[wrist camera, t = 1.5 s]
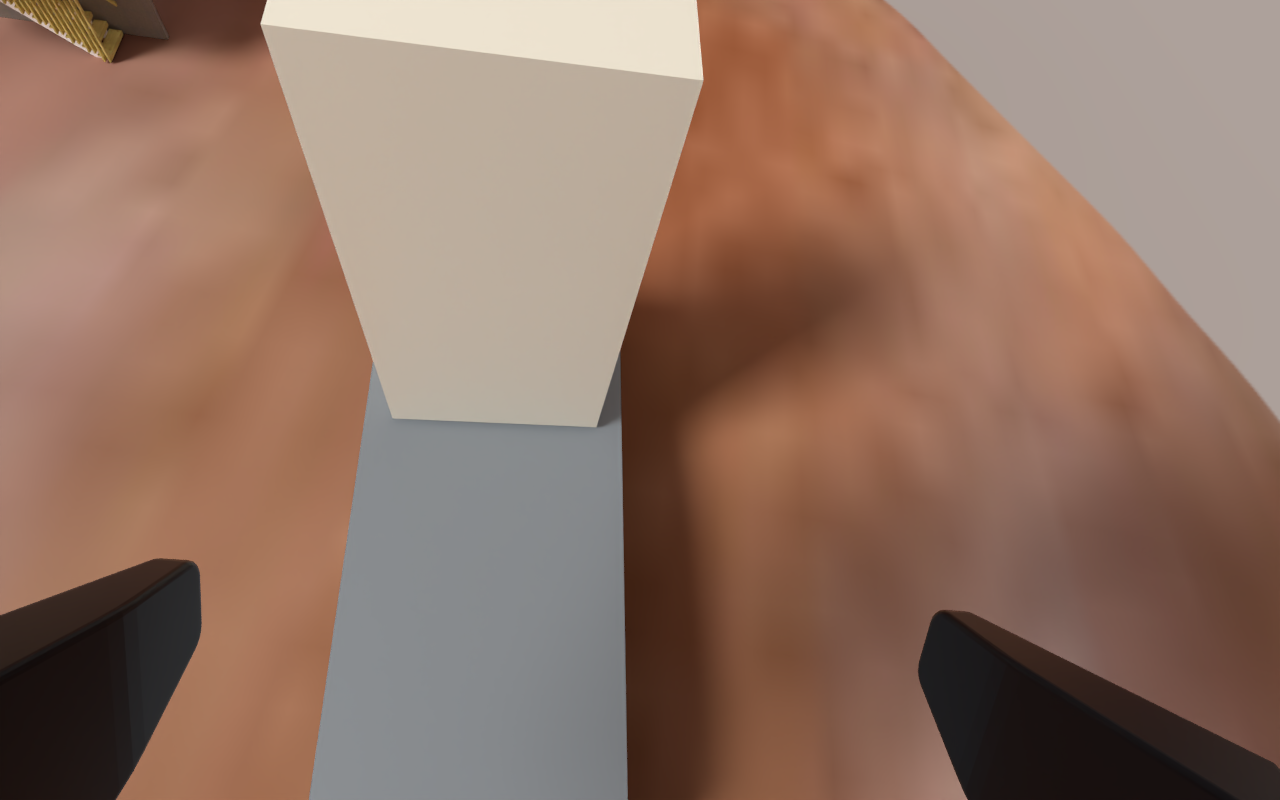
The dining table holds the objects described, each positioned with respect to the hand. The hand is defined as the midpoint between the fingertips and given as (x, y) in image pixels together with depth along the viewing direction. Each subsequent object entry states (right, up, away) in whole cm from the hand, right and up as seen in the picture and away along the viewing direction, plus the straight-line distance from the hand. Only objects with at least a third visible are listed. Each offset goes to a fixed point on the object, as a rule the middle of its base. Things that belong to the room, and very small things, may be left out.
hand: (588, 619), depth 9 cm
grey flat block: (-4, -2, +13) cm, 14 cm away
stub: (-3, +3, +12) cm, 13 cm away
